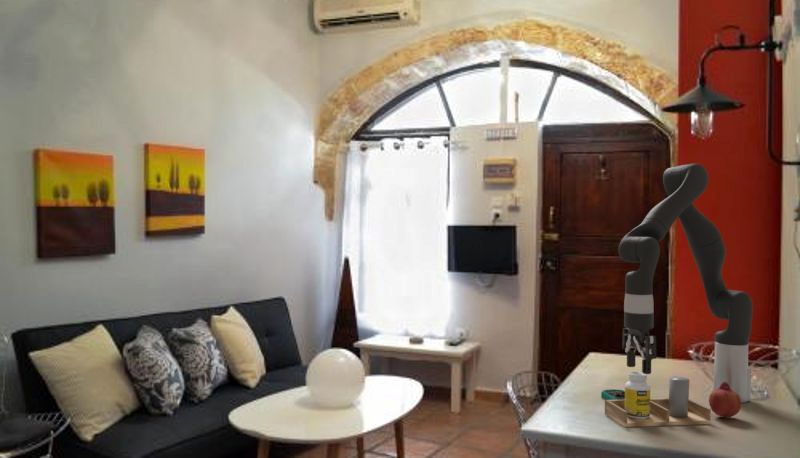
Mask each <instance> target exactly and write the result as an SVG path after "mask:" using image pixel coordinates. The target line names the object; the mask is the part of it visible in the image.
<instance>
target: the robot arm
mask: <svg viewBox="0 0 800 458" xmlns="http://www.w3.org/2000/svg"><path fill="white" fill-rule="evenodd" d="M662 181H663V183H662V184H663V186H664V190H665V192H666V195H667V197H666V198H664V199H663V200H662V201H660V202H659V203H658V204H656V205H655V206H654V207H652V209H650V211H649V212H647V215H645V218H643V220H642V221H641V223H640V224H639V225H638V226H636V227H634V228H633V229H631V230H630V232H628V233H627V234H625V235H624V236H623V237H622V239H621V240H620V243H619V244H618V255H619V257H620V259H622V261H624V262H626V263H636V264H637V263H639V264H640V265H639V267H638V269H637V270H632V271H628V272H627V273H626V275H625V280H624V281H625V282H624V284H625V285H624V286H625V287H624V289H625V290H624V300H623V303H624V304H623V312H624V313H623V315H624V316H623V319H624V320H623V328H622V336H621V337H622V339H621V340H622V341H621V343H622V346H621V347H622V350H625V351H624V352H625V353H626V366H627V367H628V368H635V367H636V351H638V353H640V355H641V359H642V360H641V365H642V366H641V372H642V373H643V374H647V375H650V374H651V373H652V361H653V360H656V359H657V337H656V335H650V330H652V329H653V328H654V326H655V325H654V317H655V316H654V312H655V311H654V304H655V303H654V302H655V301H654V295H653V291H654V290H653V289H654V288H653V284H654V283H653V282H654V276H655V273H656V267H657V264H658V261H659V257H660V254H661V247H660V245H659V243H660V242H661V241H662V240H663V239H664V238H665V236H666V235H667V233H668V232H669V230H670V229H671V228H672V226H673V224H675V223H674V222H676V221H677V219H679V222H680V224H681V226H682V229H683V231H684V234H685V237H686V240H687V243H688V246H689V249H690V251H691V253H692V257H693V259H694V260H695V263H696V267H697V269H698V271H699V275H700V279H701V281H702V285H703V288H704V292H705V297H706V300H707V304H708V307H709V309H710V312H711V314H712V315H713V316H714V317H716V318H717V319H721V320H725V321H728V323H727V327H726V328H725V329H723V330H719V331H717V332H715V334H714V367H713V368H714V369H713V370H714V371H713V373H714V374H713V375H714V377H713V391H714V390H716V389H718V388H719V387H720V385H721V384H722V383H723V382H727V383H728V384H729V386H730V389H731V390H733V391H735V392H736V393H737V394H738V395H739V397H740V399H741V404H743V403H747V402H751V396H752V395H751V392H752V391H751V390H752V389H751V388H752V387H751V384H752V380H751V379H752V370H751V368H749V340H750V338H751V337H750V336H751V334H752V326H753V324H752V323H753V313H754V312H753V311H754V309H753V307H754V305H753V299H752V297H751V296H750V294H749V293H747V292H746V291H741V290H735V289H728V288H727V286H726V283H725V282H724V279H723V275H722V270H723V266H724V264H725V259H726V256H727V255H726V254H727V248H726V246H725V242H724V239H723V237H722V233H721V232H720V230H719V228H718V227H717V226H716V225H715V224H714V223H713V221H711V220H710V219H709V218H708V217H707V216H705V215H704V214H703V213H702V212H700V211H699V209H698V208H697V207H696V206H695V204H694V203H693V202H694V201H696V200H697V199H698V198H699V197H700V196H701V195H702V194H703V193H704V192H705V190H706V189H707V186H708V184H709V174H708V171H707V169H706V168H705V167H704V166H703V165H702V164H699V163H689V164H682V165H677V166H673V167H672V166H671V167H668V168H666V169H665V171H664V172H663V176H662Z"/></svg>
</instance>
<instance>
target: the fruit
mask: <svg viewBox="0 0 800 458" xmlns="http://www.w3.org/2000/svg"><path fill="white" fill-rule="evenodd" d="M708 397H709V398H708V403H709V407H710V409H711V412H713V413H714V414H715V415H716V416H718V417H721V418H723V419H727V418H730V417H731V418H732V417H734V416H736V415H737V414H738V413H739V412H740V410H741V407H742V403H741V399H740V397H739V395H738V394H737V393H736V392H735V391H733V390H731V389H730V386H729V384H728V383H727V382H723V383H722V384H721V385H720V387H719V388H718V389H716V390H714V389H713V390H712V391H711V393H710V394H709V396H708Z"/></svg>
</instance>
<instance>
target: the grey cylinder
mask: <svg viewBox="0 0 800 458" xmlns="http://www.w3.org/2000/svg"><path fill="white" fill-rule="evenodd" d="M668 386H669V387H668V398H669V403H668V410H669V415H670V416H672V417H676V418H687V417H688V401H689V399H690V398H689V397H690V395H689V394H690V378H687V377H684V376H676V375H675V376H670V377H669V384H668Z"/></svg>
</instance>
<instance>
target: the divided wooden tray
mask: <svg viewBox="0 0 800 458" xmlns="http://www.w3.org/2000/svg"><path fill="white" fill-rule="evenodd" d="M668 403H669V397H667V398H666V397H665V398H664V397H663V398H660V397H659V398H650V416H649V418H647V419H634V418H630V417H628V416H627V411H625V399H624V400H605V399H604V415H605V416H607V417H608V418H610V419H611V420H613V421H614V422H615V423H617V424H619V425H621V426H622V427H623V428H633V427H662V426H667V427H668V426H686V425H687V426H690V425H711V419H712V418H711V415H712V414H711V412H712V409H711V408H709V407H708V406H705V405H703V404H702V403H701V404H700V403H699V402H697V401H695V400H692V399H690V398H689V401H688V417H687V418H676V417H672V416H670V415H669V410H668Z"/></svg>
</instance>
